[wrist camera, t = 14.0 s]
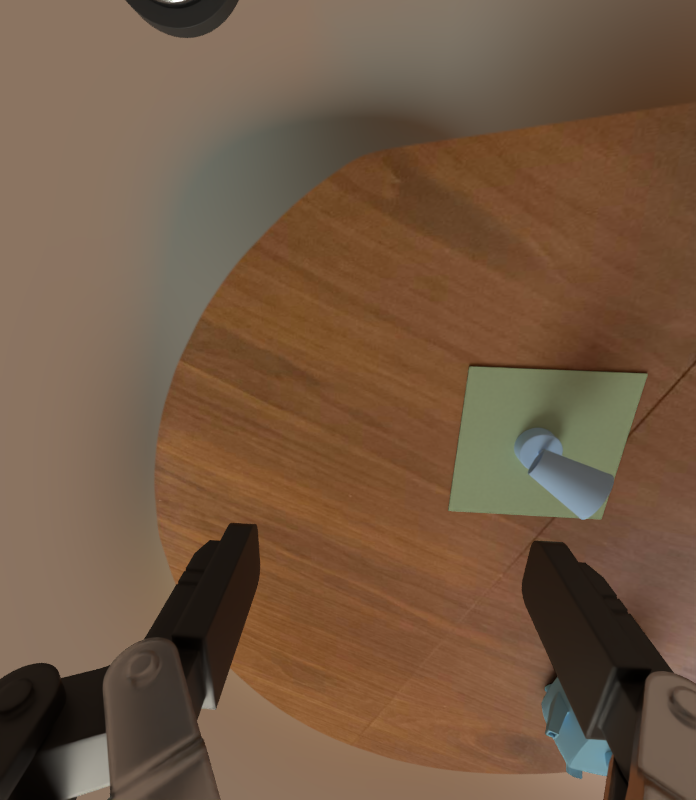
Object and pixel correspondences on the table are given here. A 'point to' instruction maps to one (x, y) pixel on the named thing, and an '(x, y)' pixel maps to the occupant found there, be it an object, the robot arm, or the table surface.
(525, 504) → the mat
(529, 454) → the spotlight
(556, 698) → the teapot
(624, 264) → the table surface
